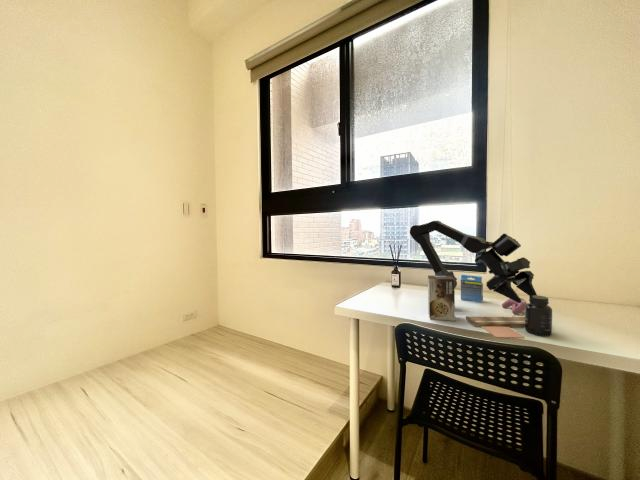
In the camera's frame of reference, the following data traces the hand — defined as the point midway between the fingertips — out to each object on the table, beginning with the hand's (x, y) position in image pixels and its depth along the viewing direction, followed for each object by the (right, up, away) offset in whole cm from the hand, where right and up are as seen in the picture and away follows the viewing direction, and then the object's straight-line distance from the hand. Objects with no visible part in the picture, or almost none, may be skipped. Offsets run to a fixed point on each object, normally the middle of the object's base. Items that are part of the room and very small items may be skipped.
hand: (528, 300), depth 88 cm
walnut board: (-4, -10, +6) cm, 12 cm away
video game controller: (+10, -9, +19) cm, 23 cm away
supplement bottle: (+1, -10, -2) cm, 11 cm away
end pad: (-10, -10, -1) cm, 14 cm away
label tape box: (+1, -8, +35) cm, 36 cm away
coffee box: (-23, -10, +14) cm, 29 cm away
